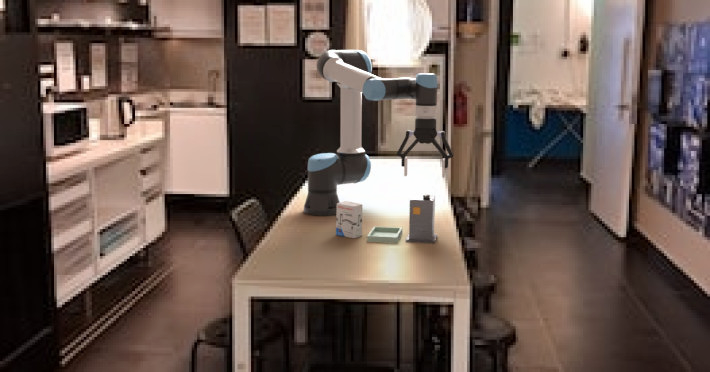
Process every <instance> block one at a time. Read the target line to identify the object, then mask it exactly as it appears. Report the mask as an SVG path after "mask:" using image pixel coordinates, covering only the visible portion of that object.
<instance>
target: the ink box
mask: <svg viewBox="0 0 710 372" xmlns="http://www.w3.org/2000/svg"><path fill="white" fill-rule="evenodd" d="M339 202H340V201H339ZM335 215H336V216H335V217H336V221H335V223H336V225H335V235H336V236H340V237H346V238H350V239H356V238H360V237H362V236H363V234H362V233H363V204H362V203H358V202H352V201H348V200H345V201H341V202H340V203H337V214H335Z"/></svg>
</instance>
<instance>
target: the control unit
mask: <svg viewBox="0 0 710 372" xmlns="http://www.w3.org/2000/svg"><path fill="white" fill-rule="evenodd" d="M435 210H436V195H430V194H422V195H421V194H420V195H419V194H417V195H416V194H412V195H411V197H410V199H409V216H408V219H409V222H408V223H409V226H408V235H407V237H406V239H405V243H417V244H418V243H419V244H421V243H422V244H423V243H424V244H425V243H426V244H435V243H436V242H437V241H436V240H437V238H438V234H437V233H435Z"/></svg>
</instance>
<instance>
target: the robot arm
mask: <svg viewBox="0 0 710 372" xmlns="http://www.w3.org/2000/svg"><path fill="white" fill-rule="evenodd" d="M372 70H373V65H372V61H371V58H370V56H369V55H368V54H367V52H365V51H363V50H361V49H360V50H359V49H337V50H336V49H330V50H327V51H325V52H323V53H322V54H320V56H319V57H318V59H317V61H316V71H317V73H318V75H319V76H320V77H321V78H322V79H324V80H326V81H328V82H331V83H334V82H336V85H337V86H338V87H339V88H340V147H339V148H337V150H336V153H334V152H327V153H326V152H324V153H323V152H322V153H317V154H314V155H312V156H310V157H309V158H308V161H307V169H306V170H307V196H306V198H305V202H304V206H303V213H304V214H306V215H309V216H323V217H324V216H334V215H336V214H337V203H340V199H339V195H338V193H337V192H338V186H339V185H346V184H347V185H349V184H358V183H362V182H364V181H365V180H367V178H368V177H369V175H370V173H371V169H372V164H371V163H372V162H371V160H370V157H369V155H367V154H366V150H365V149H364V148H363V146H362V121H363V119H362V117H363V115H362V112H363V111H362V110H363V108H362V105H363V102H362V101H363V97H362V96H364V97H365V99H366V100H368V101H375V102H377V101H391V100H415V107H414V108H415V110H414V111H415V112H414V113H415V115H414V116H415V117H416V118H415V119H414V131H413V130H410V129H407V130H406V132H405V136H404V139H403V140H402V143H401V145H400V147H399V149H398V150H397V153H396V157H397V156H398V157H400V158H401V167H404V169H403V171H404V172H403V173H404V174H403V177H407V176H408V154H409V153H410V152H411V151H412V150H413V148H414V147H415V146H417V144H418V143H420V144H422V145H423V144H427V145H429V144H433V146H434V147H435V149H437V151H438V152H439V153H440V154H441V156H442V157H443V158H442V164H441V165H442V168H441V169H442V173H441V177H442V178H443V179H444V178H445V177H446V176H445V175H446V169H448V167H449V159H451V158H453V157H454V153H453V150H452V148H451V146H450V144H449V142H448V140H447V138H446V132H445V130H442V131H437V118H436V117H437V110H438V106H437V105H438V86H439V85H438V76H437V74H435V73H425V72H424V73H423V72H422V73H421V72H420V73H417V74H416V77H415V78H413V77H408V76H406V77H403V76H402V77H397V78H384V77H383V78H382V77H379V76H377V75H374V74H372ZM362 94H363V95H362ZM412 136H414V137H415V140H413V142H412V143H411V144H410V146H409V147H408V148H407V149H406V150H405V151H404V148H405V146H406V145H407V143H408V141H409V138H411V137H412ZM437 136H438V138H441V140H442V143H443V144H444V147H445V149H446V151H447V152H446V151H445V150H444V148H443V147H442V146H441V145H440V144H439V143H438V141H437V140H436V138H437ZM403 151H404V152H403Z"/></svg>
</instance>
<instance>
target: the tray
mask: <svg viewBox="0 0 710 372" xmlns="http://www.w3.org/2000/svg"><path fill="white" fill-rule="evenodd" d="M402 235H403V227H396V226H395V227H394V226H377V225H376V226H373V227H372V229H371V230H370V231H369V233H368V234H367V235H366V236H367V237H366V241H367V242H369V243H387V244H388V243H392V244H398V242H399V240H400V238H401V237H402Z"/></svg>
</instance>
